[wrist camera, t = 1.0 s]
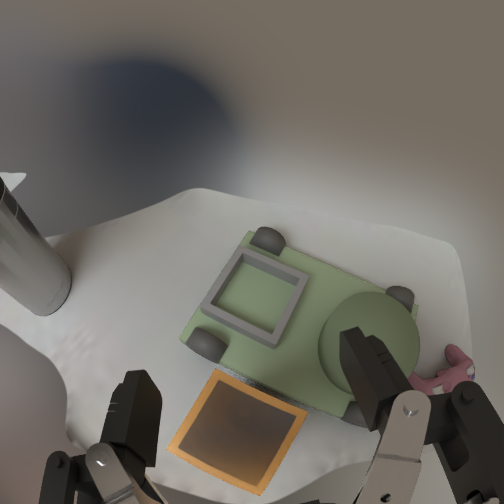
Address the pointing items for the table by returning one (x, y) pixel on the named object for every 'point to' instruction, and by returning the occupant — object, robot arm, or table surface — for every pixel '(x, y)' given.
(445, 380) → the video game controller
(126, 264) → the table surface
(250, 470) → the orange-capped grey post
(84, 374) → the table surface
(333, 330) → the toy lawn mower
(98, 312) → the table surface
